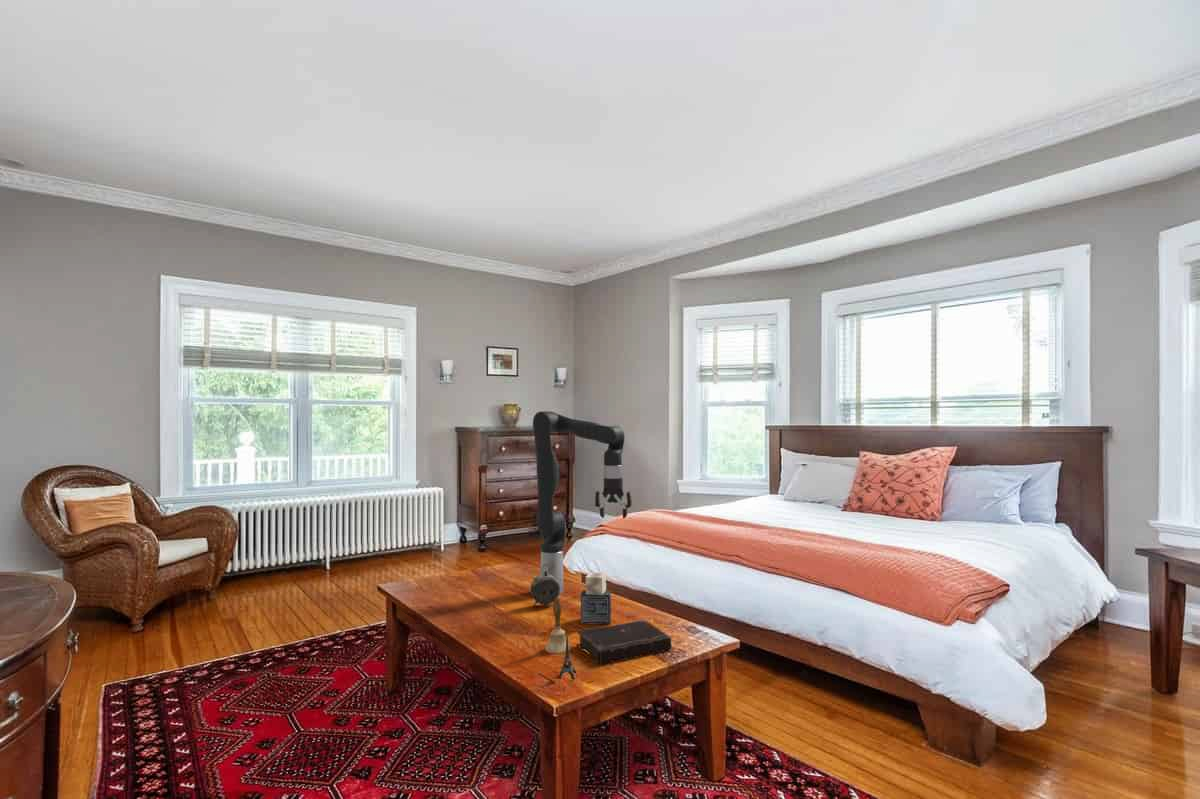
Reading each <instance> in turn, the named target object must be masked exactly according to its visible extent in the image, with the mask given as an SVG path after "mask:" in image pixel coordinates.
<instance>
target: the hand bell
mask: <svg viewBox="0 0 1200 799" xmlns="http://www.w3.org/2000/svg"><path fill="white" fill-rule="evenodd" d="M552 608H553V609H552V612H553V615H554V629H553V630H552V631H551V632H550V638H549V642H548V643H547V645H546V646H545V648H544V650H545V651H546V652H547V653H550V654H556V655H558V654H566V631H565V630H564V629H562V628H561V615H562V603H561V601H560V598H559V597H557V598H555V601H554V602H553V605H552ZM568 647H569V652H571V649H572V646H571V644H570V643H569V642H568Z"/></svg>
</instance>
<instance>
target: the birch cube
mask: <svg viewBox="0 0 1200 799" xmlns="http://www.w3.org/2000/svg"><path fill="white" fill-rule="evenodd" d="M585 590H586V594H593V595H603V593H604V592H605V591H606V590H607V573H603V572H589V573H588V574H587V575H586V576H585Z"/></svg>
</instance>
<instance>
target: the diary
mask: <svg viewBox="0 0 1200 799" xmlns="http://www.w3.org/2000/svg"><path fill="white" fill-rule="evenodd" d="M576 633H577V635H579V643H578V644H576V647H578V648H579V646H580V648H581V649H580V648H579V649H580V650H582V649H585V650H587V651H588V652H589V653H590V654H591V655H590V656H592V655H593V656H594V657H593V656H592V657H593V658H595V659H596V660H597V661H600V662H599V665H600V664H602V665H606V664H610V663H609V662H611V663H613V662H612V661H615V662H618V661H617V660H620V659H624V660H626V659H625V658H629V659H631V658H630V657H634V658H636V657H635V656H639V657H641V656H640V655H643V656H646V655H645V654H648V655H650V654H649V653H652V654H654V653H653V652H657V651H662V650H667V649H671V650H672V638H671V635H670V636H669V635H668V634H667V633H665V632H664V631H662V630H660V628H658V627H657V626H655V625H653V624H652V623H650V622H648V621H647V620H644V619H643V620H636V621H632V622H626V623H621V624H615V625H606V626H598V627H596V626H595V627H591V628H585V629H581V630H576ZM667 651H668V650H667ZM662 652H663V651H662ZM657 653H658V652H657ZM620 661H621V660H620ZM605 663H606V664H605Z"/></svg>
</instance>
